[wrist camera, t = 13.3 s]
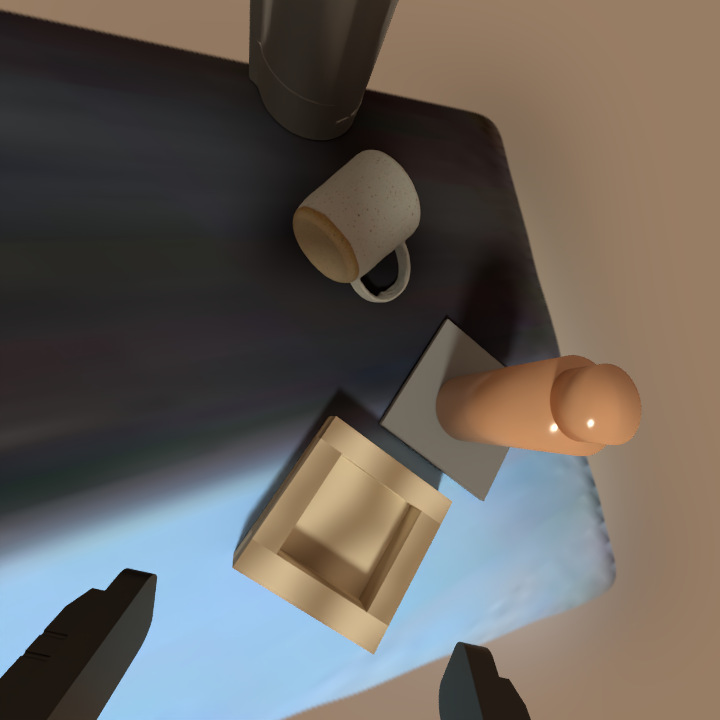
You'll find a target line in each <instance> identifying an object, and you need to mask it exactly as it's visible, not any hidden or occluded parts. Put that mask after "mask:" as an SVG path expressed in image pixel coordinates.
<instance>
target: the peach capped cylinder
mask: <svg viewBox="0 0 720 720" xmlns="http://www.w3.org/2000/svg"><path fill="white" fill-rule="evenodd" d="M436 414H437V418H438V421H439V423H440V425H441V427H442V428H443V430H444V431H445V432H446V433H447V434H448V435H449V436H451V437H452V438H454V439H456V440H460V441H466V442H474V443H482V444H489V445H497V446H505V447H513V448H521V449H529V450H537V451H545V452H552V453H560V454H568V455H576V456H589V455H592V454H595V453H597V452H599V451H600V450H601V449H603V448H604V447H605V446H606V445H607V444H610V445H620V444H623V443H625V442H627V441H629V440H630V439H631V438H632V437H633V436H634V434H635V433H636V431H637V429H638V426H639V424H640V419H641V402H640V397H639V393H638V391H637V388H636V386H635V384H634V382H633V381H632V379H631V378H630V376H629V375H628V374H627V373H626V372H625V371H623V370H622V369H621V368H619V367H617V366H615V365H612V364H599V365H596V364H595V363H594V362H592V361H590V360H589V359H586V358H584V357H581V356H576V355H571V356H570V355H569V356H564V357H558V358H553V359H548V360H542V361H537V362H532V363H526V364H521V365H515V366H510V367H505V368H499V369H494V370H489V371H483V372H478V373H472V374H467V375H462V376H456V377H453V378H451V379H449V380H448V381H447V382H446V383H445V384H444V385H443V386H442V387H441V389H440V390H439V393H438V395H437V399H436Z"/></svg>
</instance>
